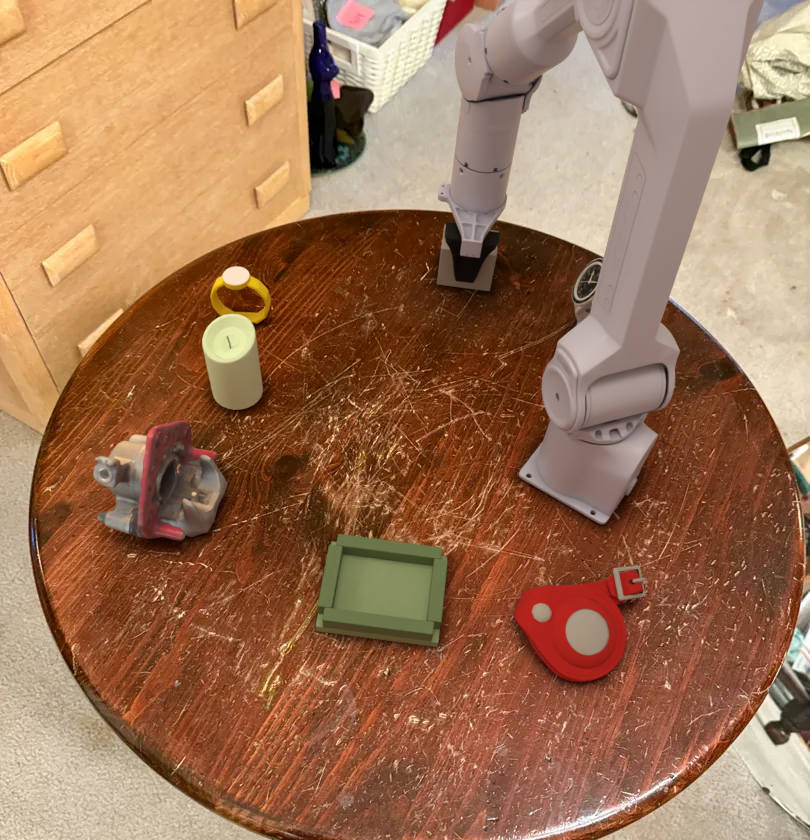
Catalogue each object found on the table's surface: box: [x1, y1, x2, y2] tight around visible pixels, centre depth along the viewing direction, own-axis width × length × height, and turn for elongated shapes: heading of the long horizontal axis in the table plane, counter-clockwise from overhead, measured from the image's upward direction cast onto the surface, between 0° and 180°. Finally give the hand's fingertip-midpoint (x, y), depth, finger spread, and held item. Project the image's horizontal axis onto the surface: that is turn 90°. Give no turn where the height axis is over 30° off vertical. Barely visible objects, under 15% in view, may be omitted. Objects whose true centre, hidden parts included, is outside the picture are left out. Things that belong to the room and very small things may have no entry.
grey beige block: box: [436, 223, 500, 292], centre depth 90 cm, size 6×4×5 cm, turn 83°
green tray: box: [315, 533, 449, 648], centre depth 70 cm, size 10×8×2 cm
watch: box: [571, 257, 604, 328], centre depth 83 cm, size 6×8×11 cm
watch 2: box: [209, 266, 272, 325], centre depth 84 cm, size 6×3×6 cm, turn 86°
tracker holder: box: [513, 565, 647, 683], centre depth 70 cm, size 12×4×10 cm
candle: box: [201, 314, 264, 411], centre depth 78 cm, size 5×5×8 cm
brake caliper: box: [92, 419, 228, 542], centre depth 71 cm, size 11×11×12 cm
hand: (466, 265), depth 91 cm, fingers closed on grey beige block, 4 cm apart
